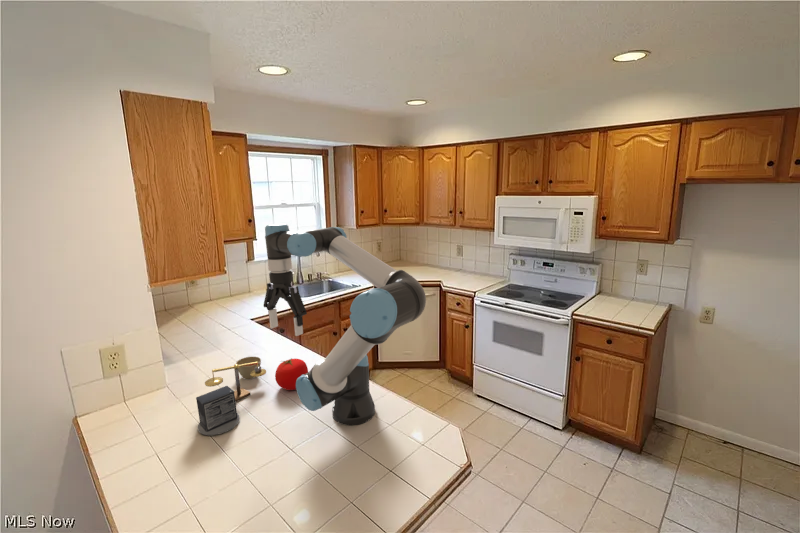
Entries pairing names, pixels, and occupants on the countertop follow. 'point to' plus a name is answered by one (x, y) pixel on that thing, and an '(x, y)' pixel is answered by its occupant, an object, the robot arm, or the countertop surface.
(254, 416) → the countertop surface
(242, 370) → the flower pot
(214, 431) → the dish
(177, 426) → the countertop surface
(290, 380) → the tomato
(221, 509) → the countertop surface
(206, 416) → the small box
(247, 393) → the balance
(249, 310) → the countertop surface
